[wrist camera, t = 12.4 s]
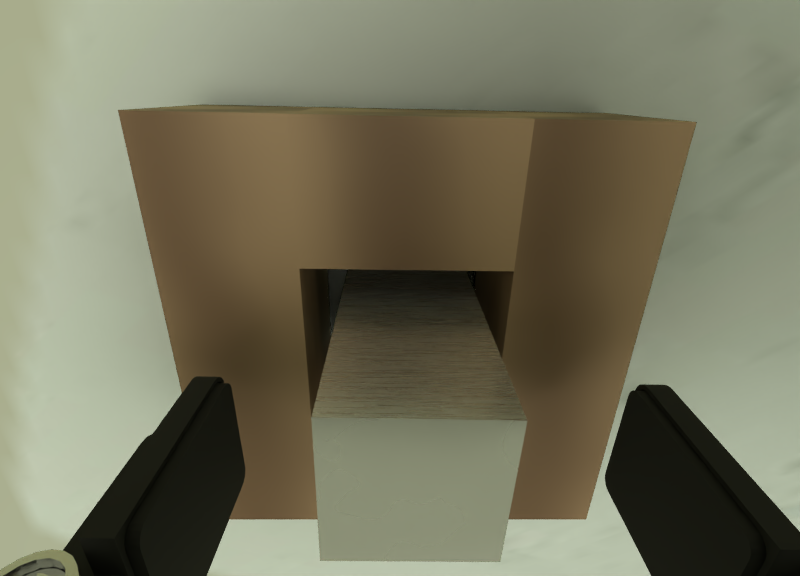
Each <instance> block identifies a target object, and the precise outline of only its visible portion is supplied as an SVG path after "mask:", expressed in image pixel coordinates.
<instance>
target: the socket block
mask: <svg viewBox="0 0 800 576" xmlns="http://www.w3.org/2000/svg"><path fill="white" fill-rule="evenodd" d="M118 112H119V116H120V121H121V125H122V130H123V134H124V139H125V143H126V147H127V152H128V156H129V161H130V165H131V170H132V174H133V178H134V183H135V187H136V192H137V196H138V200H139V205H140V209H141V214H142V218H143V223H144V227H145V231H146V236H147V240H148V245H149V249H150V254H151V258H152V262H153V267H154V271H155V276H156V280H157V285H158V289H159V293H160V298H161V302H162V307H163V311H164V315H165V320H166V324H167V329H168V333H169V338H170V342H171V346H172V351H173V355H174V360H175V364H176V369H177V373H178V377H179V382H180V386H181V391H182V393H183V391H184V390H185V388H186V387H187V386H188V384H189V383H190V381H191V380H192V379H193V378H194V377H196V376H208V377H222V379H223V380H224V383H229V384H230V385H231V388H232V393H233V399H234V405H235V410H236V416H237V422H238V428H239V434H240V439H241V445H242V451H243V457H244V462H245V479H244V483H243V486H242V488H241V491H240V493H239V496H238V498H237V501H236V503H235V506H234V508H233V511H232V513H231V516H230V518H229V519H318V516H317V500H316V484H315V468H314V452H313V437H312V421H311V417H312V413H313V409H314V405H315V401H316V397H317V393H318V388H319V384H320V380H321V376H322V372H323V368H324V364H325V360H326V356H327V352H328V348H329V344H330V340H331V331H330V312H329V292H328V273H327V269H367V270H446V271H476V280H475V290H474V292H475V294H476V297H477V299H478V302H479V304H480V306H481V309H482V311H483V314H484V316H485V319H486V321H487V324H488V326H489V328H490V331H491V333H492V336H493V338H494V341H495V343H496V345H497V348H498V350H499V353H500V355H501V358H502V360H503V362H504V365H505V367H506V370H507V372H508V375H509V377H510V379H511V382H512V384H513V387H514V389H515V392H516V394H517V397H518V399H519V401H520V404H521V406H522V409H523V411H524V414H525V416H526V418H527V426H526V431H525V436H524V441H523V446H522V452H521V457H520V462H519V467H518V472H517V477H516V483H515V488H514V493H513V498H512V503H511V508H510V514H509V519H586V518H587V514H588V510H589V507H590V503H591V500H592V496H593V492H594V489H595V485H596V482H597V478H598V474H599V471H600V467H601V464H602V460H603V457H604V453H605V449H606V446H607V442H608V439H609V435H610V431H611V428H612V424H613V421H614V417H615V413H616V410H617V406H618V403H619V399H620V396H621V392H622V388H623V385H624V381H625V378H626V374H627V370H628V367H629V363H630V360H631V356H632V352H633V349H634V345H635V342H636V338H637V335H638V331H639V327H640V324H641V320H642V317H643V313H644V309H645V306H646V302H647V299H648V295H649V291H650V288H651V284H652V281H653V277H654V274H655V270H656V266H657V263H658V259H659V256H660V252H661V248H662V245H663V241H664V238H665V234H666V231H667V227H668V223H669V220H670V216H671V213H672V209H673V205H674V202H675V198H676V195H677V191H678V187H679V184H680V180H681V177H682V173H683V170H684V166H685V162H686V159H687V155H688V152H689V148H690V144H691V141H692V137H693V134H694V130H695V126H696V123H697V122H690V121H680V120H670V119H660V118H650V117H640V116H629V115H619V114H609V113H574V112H526V111H478V110H431V109H383V108H335V107H287V106H240V105H190V106H175V107H160V108H144V109H129V110H118Z"/></svg>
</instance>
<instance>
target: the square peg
mask: <svg viewBox="0 0 800 576" xmlns="http://www.w3.org/2000/svg"><path fill="white" fill-rule="evenodd" d="M311 421H312V437H313V452H314V468H315V484H316V500H317V516H318V532H319V548H320V561H447V562H500V560H501V555H502V550H503V545H504V539H505V534H506V529H507V524H508V519H509V514H510V508H511V503H512V498H513V493H514V488H515V483H516V477H517V472H518V467H519V462H520V457H521V452H522V446H523V441H524V436H525V431H526V426H527V418H526V416H525V414H524V411H523V409H522V406H521V404H520V401H519V399H518V397H517V394H516V392H515V389H514V387H513V384H512V382H511V379H510V377H509V375H508V372H507V370H506V367H505V365H504V362H503V360H502V358H501V355H500V353H499V350H498V348H497V345H496V343H495V341H494V338H493V336H492V333H491V331H490V328H489V326H488V324H487V321H486V319H485V316H484V314H483V311H482V309H481V306H480V304H479V302H478V299H477V297H476V294H475V292H474V289H473V287H472V285H471V282H470V280H469V277H468V275H467V272H466V271H446V270H367V269H348V272H347V276H346V280H345V284H344V288H343V292H342V296H341V300H340V304H339V308H338V312H337V316H336V320H335V324H334V328H333V332H332V336H331V340H330V344H329V348H328V352H327V356H326V360H325V364H324V368H323V372H322V376H321V380H320V384H319V388H318V393H317V397H316V401H315V405H314V409H313V413H312V417H311Z"/></svg>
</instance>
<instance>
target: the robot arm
mask: <svg viewBox="0 0 800 576" xmlns="http://www.w3.org/2000/svg"><path fill="white" fill-rule="evenodd" d="M244 479H245V462H244V457H243V451H242V445H241V439H240V434H239V428H238V422H237V416H236V410H235V405H234V399H233V393H232V388H231V385H230V384H229V383H224V380H223V379H222V377H208V376H196V377H194V378H193V379H192V380H191V381H190V383H189V384H188V386H187V387H186V388H185V390H184V391H183V393H182V394H181V395H180V397H179V398H178V400H177V401H176V402H175V404H174V405H173V406H172V408H171V409H170V411H169V412H168V413H167V415H166V416H165V418H164V419H163V420H162V422H161V423H160V425H159V426H158V427H157V429H156V430H155V432H154V433H153V434H152V435H150V436H148V437H146V439H145V440H144V441H143V442H142V443H141V444H140V446H139V447H138V448H137V450H136V451H135V453H134V454H133V455H132V457H131V458H130V459H129V461H128V462H127V463H126V465H125V466H124V468H123V469H122V470H121V472H120V473H119V474H118V476H117V477H116V478H115V480H114V481H113V483H112V484H111V485H110V487H109V488H108V489H107V491H106V492H105V494H104V495H103V496H102V498H101V499H100V500H99V502H98V503H97V504H96V506H95V507H94V509H93V510H92V511H91V513H90V514H89V515H88V517H87V518H86V520H85V521H84V522H83V524H82V525H81V526H80V528H79V529H78V530H77V532H76V533H75V535H74V536H73V537H72V539H71V540H70V541H69V543H68V544H67V546H66V547H65V548H64V550H63V551H61V550H53V549H51V550H45V551H40V552H35V553H33V554H30V555H28V556H25V557H22V558H20V559H18V560H16V561H15V562H13V563H11V564H9V565H8V566H6V567H4V568H2V569H1V570H0V576H207V573H208V571H209V568H210V566H211V563H212V561H213V558H214V556H215V553H216V551H217V548H218V546H219V543H220V541H221V538H222V536H223V533H224V531H225V528H226V526H227V523H228V521H229V518H230V516H231V513H232V511H233V508H234V506H235V503H236V501H237V498H238V496H239V493H240V491H241V488H242V486H243V483H244ZM605 482H606V487H607V489H608V492H609V494H610V496H611V498H612V500H613V502H614V504H615V505H616V507H617V509H618V511H619V513H620V515H621V517H622V519H623V521H624V523H625V525H626V527H627V529H628V531H629V533H630V535H631V537H632V539H633V541H634V543H635V545H636V547H637V549H638V550H639V552H640V554H641V556H642V558H643V560H644V562H645V564H646V566H647V568H648V570H649V572H650V574H651V576H800V532H799V530H798V529H797V528H796V527H795V526H794V525H793V524H792V523H791V522H790V520H789V519H788V518H787V517H786V516H785V515H784V514H783V513H782V512H781V510H780V509H779V508H778V507H777V506H776V505H775V504H774V503H773V501H772V500H771V499H770V498H769V497H768V496H767V495H766V494H765V493H764V491H763V490H762V489H761V488H760V487H759V486H758V485H757V484H756V482H755V481H754V480H753V479H752V478H751V477H750V476H749V475H748V474H747V472H746V471H745V470H744V469H743V468H742V467H741V466H740V465H739V463H738V462H737V461H736V460H735V459H734V458H733V457H732V456H731V455H730V453H729V452H728V451H727V450H726V449H725V448H724V447H723V446H722V444H721V443H720V442H719V441H718V440H717V439H716V438H715V437H714V436H713V434H712V433H711V432H710V431H709V430H708V429H707V428H706V427H705V425H704V424H703V423H702V422H701V421H700V420H699V419H698V418H697V417H696V415H695V414H694V413H693V412H692V411H691V410H690V409H689V408H688V406H687V405H686V404H685V403H684V402H683V401H682V400H681V399H680V398H679V396H678V395H677V394H676V393H675V392H674V391H673V390H672V389H671V388H670V387H669V386H666V385H639V386H638V387H637V388H636V390H635V391H631V392H630V394H629V396H628V399H627V403H626V406H625V409H624V413H623V416H622V420H621V423H620V426H619V430H618V433H617V436H616V440H615V443H614V447H613V450H612V453H611V457H610V460H609V463H608V467H607V470H606V474H605Z"/></svg>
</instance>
